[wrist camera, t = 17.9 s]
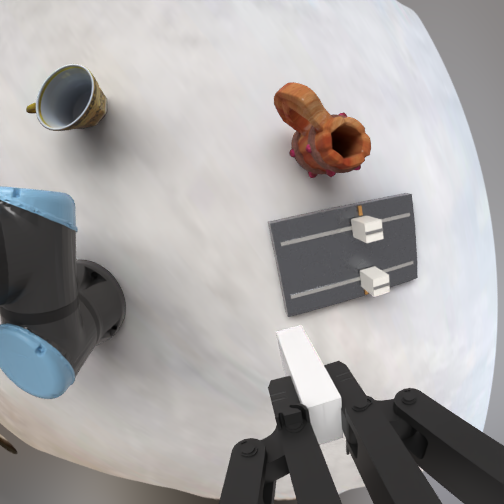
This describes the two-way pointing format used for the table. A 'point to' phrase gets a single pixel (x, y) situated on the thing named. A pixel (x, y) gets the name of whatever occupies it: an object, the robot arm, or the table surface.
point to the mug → (321, 133)
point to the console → (341, 252)
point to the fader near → (367, 229)
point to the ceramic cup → (69, 100)
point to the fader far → (375, 281)
